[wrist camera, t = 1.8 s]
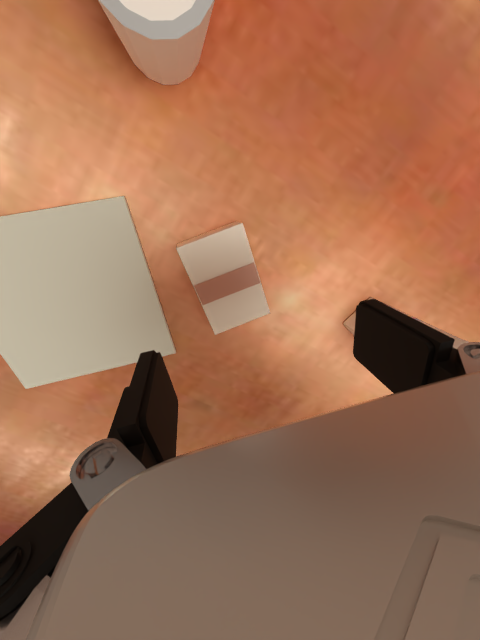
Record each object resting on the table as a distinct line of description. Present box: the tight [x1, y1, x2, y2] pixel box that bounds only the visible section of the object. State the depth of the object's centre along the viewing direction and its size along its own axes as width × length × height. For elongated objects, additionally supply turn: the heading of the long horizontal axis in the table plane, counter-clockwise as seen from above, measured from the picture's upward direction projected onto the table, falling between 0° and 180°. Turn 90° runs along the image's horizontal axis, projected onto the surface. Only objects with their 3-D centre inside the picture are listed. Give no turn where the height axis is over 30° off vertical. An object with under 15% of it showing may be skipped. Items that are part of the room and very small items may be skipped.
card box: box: [176, 221, 270, 335], centre depth 24 cm, size 9×6×4 cm, turn 19°
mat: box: [0, 196, 176, 389], centre depth 23 cm, size 16×16×1 cm
